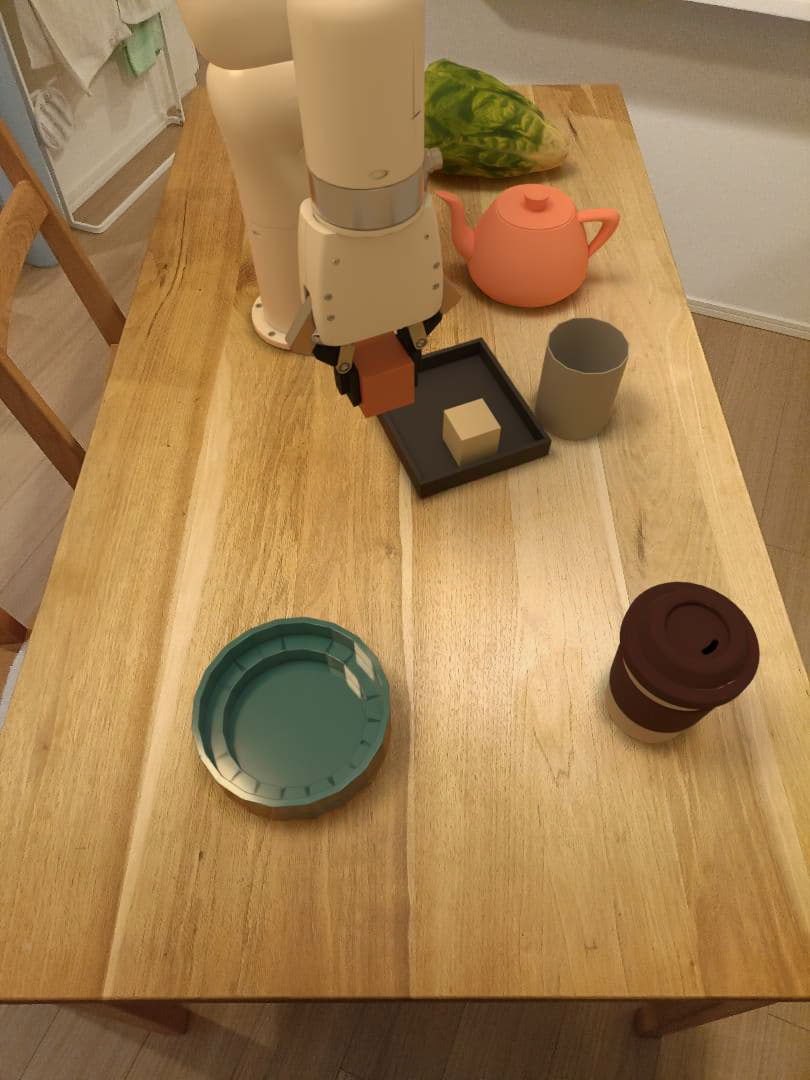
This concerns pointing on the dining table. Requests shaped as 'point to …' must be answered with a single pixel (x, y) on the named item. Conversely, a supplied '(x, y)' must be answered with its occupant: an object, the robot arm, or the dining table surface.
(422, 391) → the tray
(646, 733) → the coffee cup
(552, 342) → the cup
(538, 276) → the teapot
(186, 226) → the dining table surface
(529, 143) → the lettuce
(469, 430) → the block
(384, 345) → the block
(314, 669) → the bowl
